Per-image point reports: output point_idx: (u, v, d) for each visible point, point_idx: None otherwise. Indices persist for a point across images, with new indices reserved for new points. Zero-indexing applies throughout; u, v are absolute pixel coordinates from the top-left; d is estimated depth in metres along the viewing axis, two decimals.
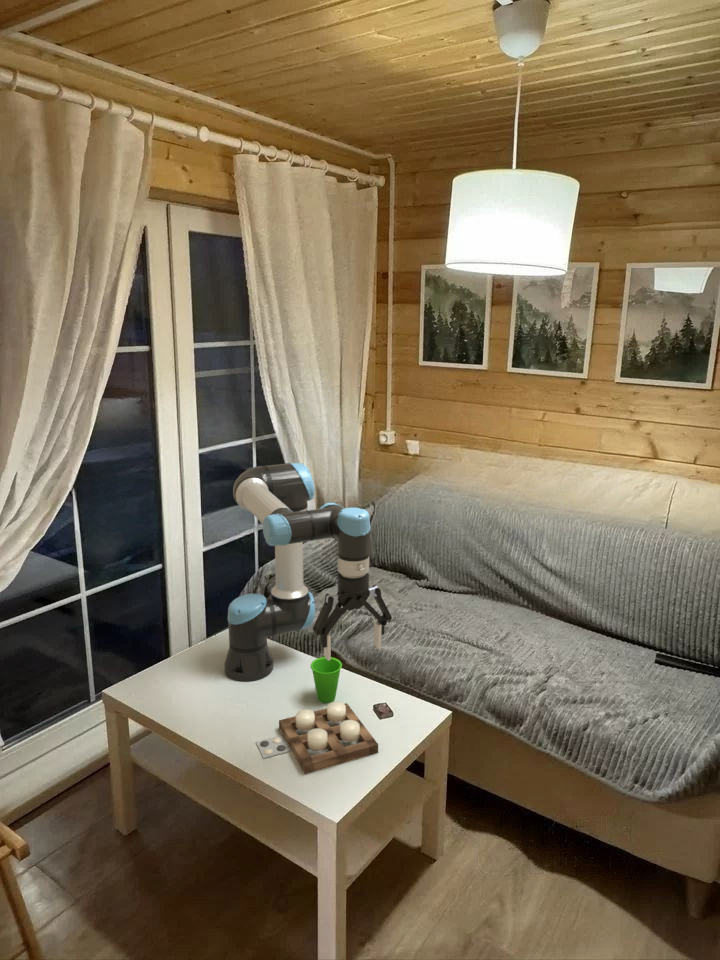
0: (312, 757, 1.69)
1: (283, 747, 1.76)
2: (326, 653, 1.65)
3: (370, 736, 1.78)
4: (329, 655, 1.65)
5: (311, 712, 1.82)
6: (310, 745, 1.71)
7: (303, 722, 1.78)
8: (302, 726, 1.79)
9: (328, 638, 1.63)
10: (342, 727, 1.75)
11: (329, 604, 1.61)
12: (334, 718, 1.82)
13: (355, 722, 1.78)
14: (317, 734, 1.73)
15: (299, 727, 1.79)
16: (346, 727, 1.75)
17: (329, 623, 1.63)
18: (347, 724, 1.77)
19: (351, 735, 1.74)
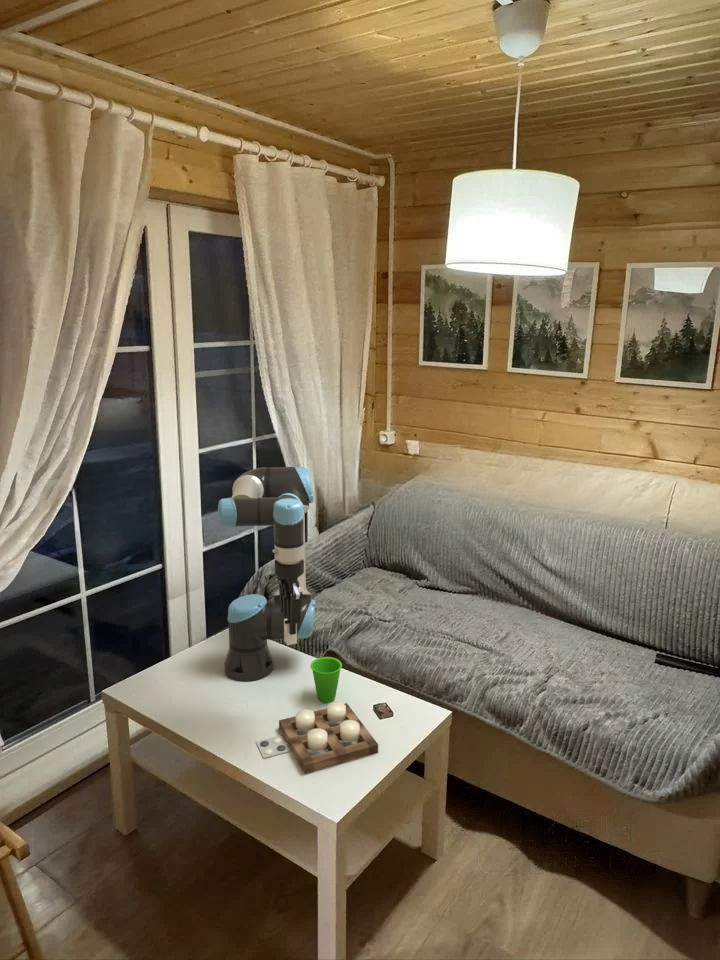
0: (312, 757, 1.69)
1: (283, 747, 1.76)
2: None
3: (370, 736, 1.78)
4: (284, 637, 1.81)
5: (311, 712, 1.82)
6: (310, 745, 1.71)
7: (303, 722, 1.78)
8: (302, 726, 1.79)
9: None
10: (342, 727, 1.75)
11: (278, 583, 1.81)
12: (334, 718, 1.82)
13: (355, 722, 1.78)
14: (317, 734, 1.73)
15: (299, 727, 1.79)
16: (346, 727, 1.75)
17: None
18: (347, 724, 1.77)
19: (351, 735, 1.74)
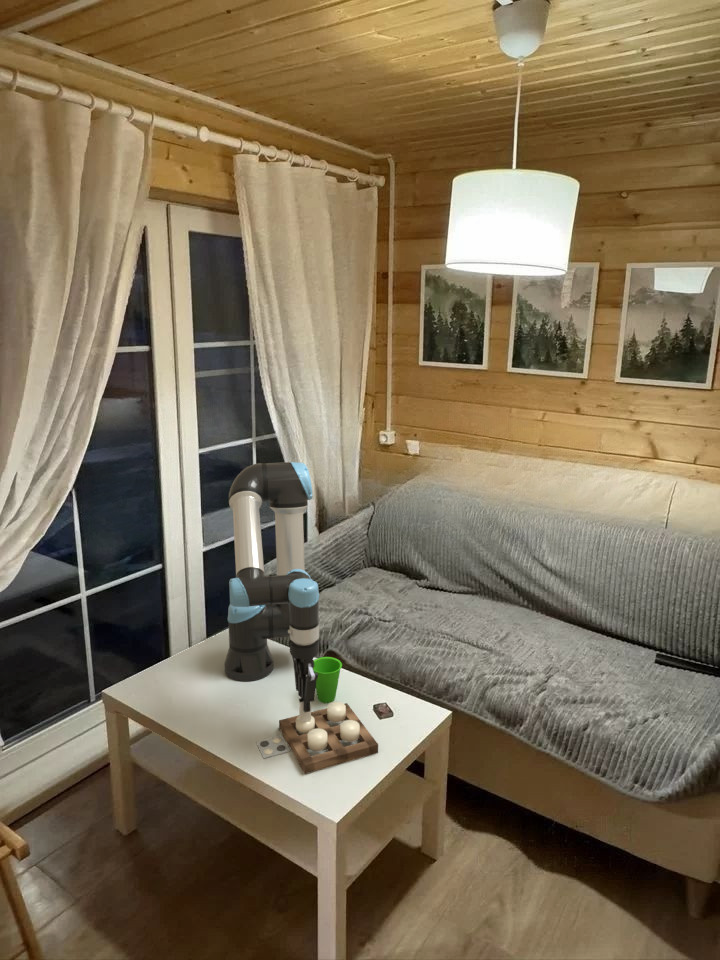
0: (312, 757, 1.69)
1: (283, 747, 1.76)
2: None
3: (370, 736, 1.78)
4: (299, 715, 1.80)
5: (311, 717, 1.82)
6: (310, 745, 1.71)
7: (303, 727, 1.79)
8: (302, 731, 1.79)
9: None
10: (342, 727, 1.75)
11: (293, 660, 1.81)
12: (334, 718, 1.82)
13: (355, 722, 1.78)
14: (317, 734, 1.73)
15: (299, 732, 1.79)
16: (346, 727, 1.75)
17: None
18: (347, 724, 1.77)
19: (351, 735, 1.74)
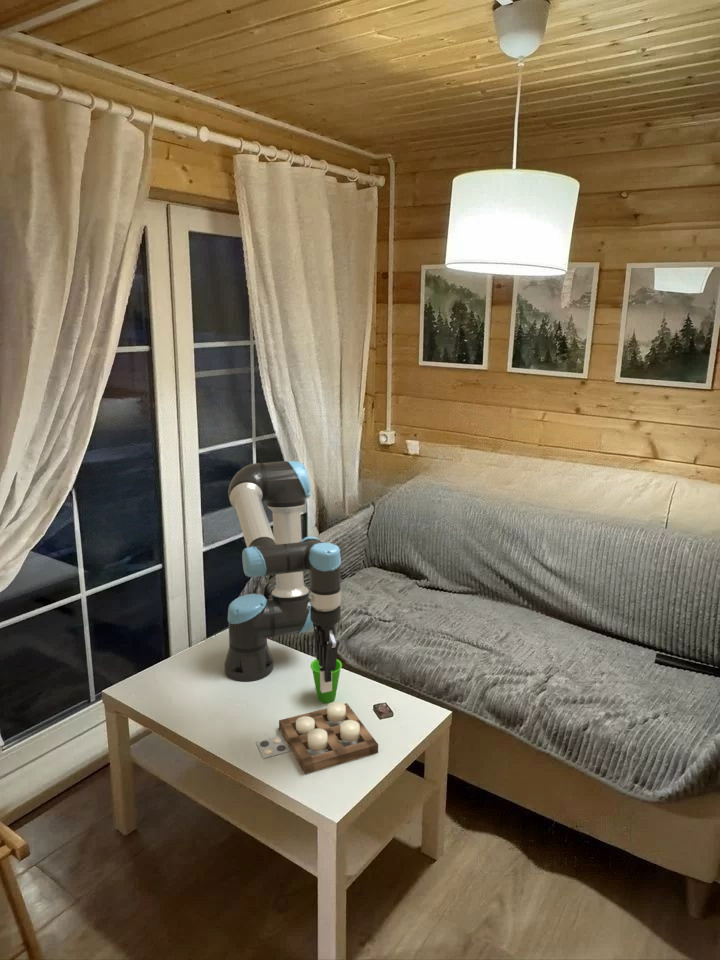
0: (312, 757, 1.69)
1: (283, 747, 1.76)
2: None
3: (370, 736, 1.78)
4: (320, 686, 1.75)
5: (311, 719, 1.82)
6: (310, 745, 1.71)
7: (303, 729, 1.79)
8: (302, 733, 1.79)
9: None
10: (342, 727, 1.75)
11: (314, 629, 1.76)
12: (334, 718, 1.82)
13: (355, 722, 1.78)
14: (317, 734, 1.73)
15: (299, 734, 1.80)
16: (346, 727, 1.75)
17: None
18: (347, 724, 1.77)
19: (351, 735, 1.74)
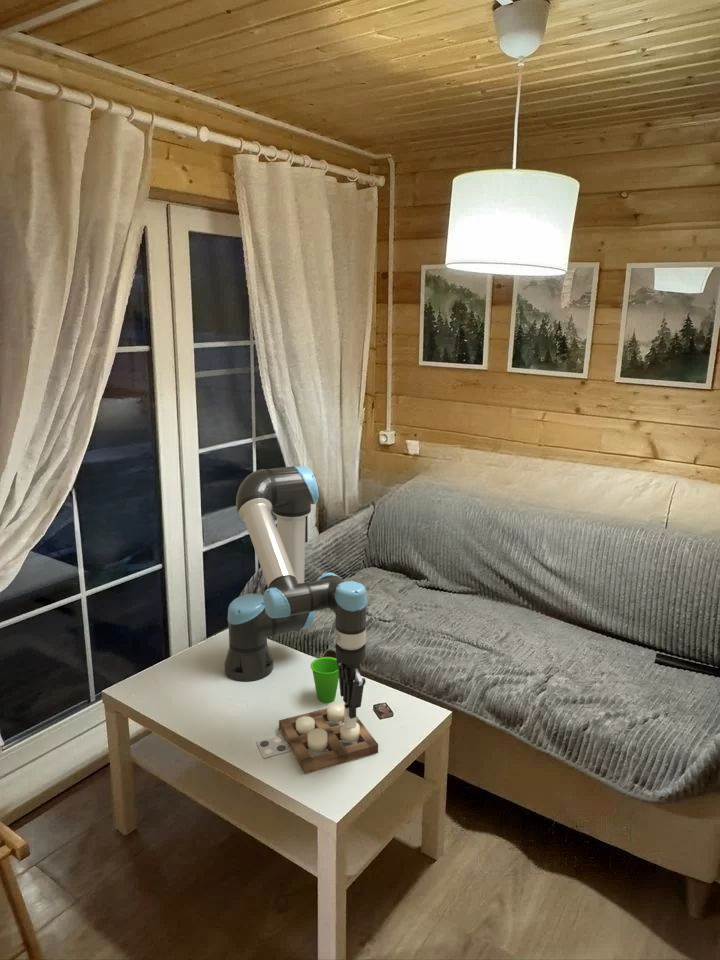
0: (312, 757, 1.69)
1: (283, 747, 1.76)
2: None
3: (370, 736, 1.78)
4: (344, 722, 1.75)
5: (311, 719, 1.82)
6: (310, 745, 1.71)
7: (303, 729, 1.79)
8: (302, 733, 1.79)
9: (344, 706, 1.75)
10: (342, 728, 1.76)
11: None
12: (334, 718, 1.82)
13: None
14: (317, 734, 1.73)
15: (299, 734, 1.80)
16: None
17: None
18: None
19: (351, 736, 1.74)
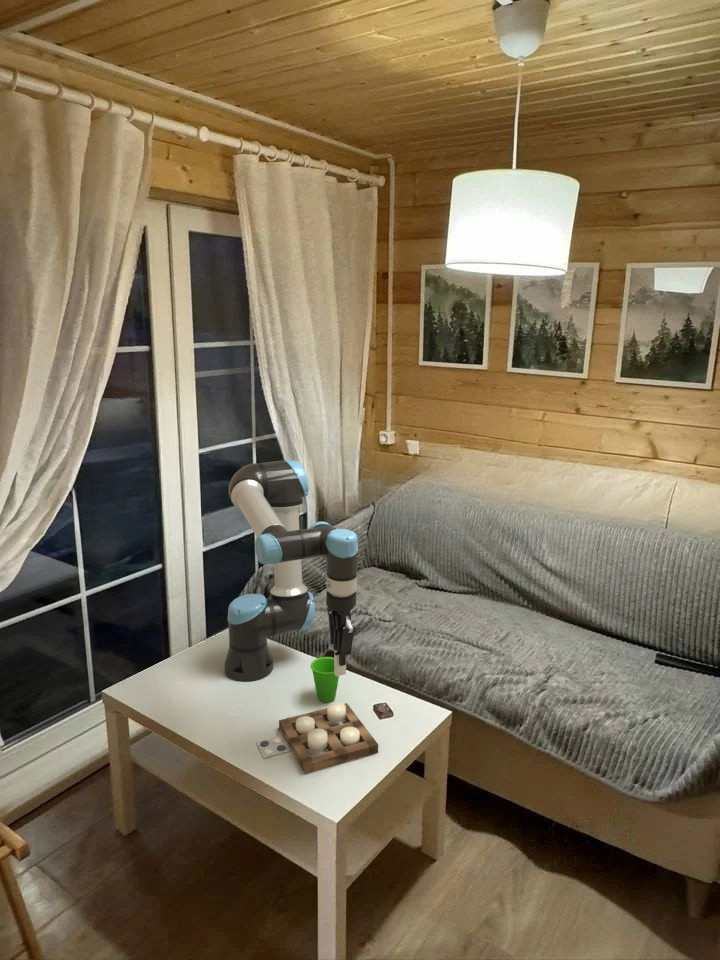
0: (312, 757, 1.69)
1: (283, 747, 1.76)
2: None
3: (370, 736, 1.78)
4: (334, 669, 1.76)
5: (311, 719, 1.82)
6: (310, 745, 1.71)
7: (303, 729, 1.79)
8: (302, 733, 1.79)
9: (335, 653, 1.75)
10: (342, 734, 1.76)
11: (328, 613, 1.77)
12: (334, 718, 1.82)
13: (355, 729, 1.78)
14: (317, 734, 1.73)
15: (299, 734, 1.80)
16: (346, 734, 1.76)
17: None
18: (347, 731, 1.77)
19: (351, 742, 1.75)
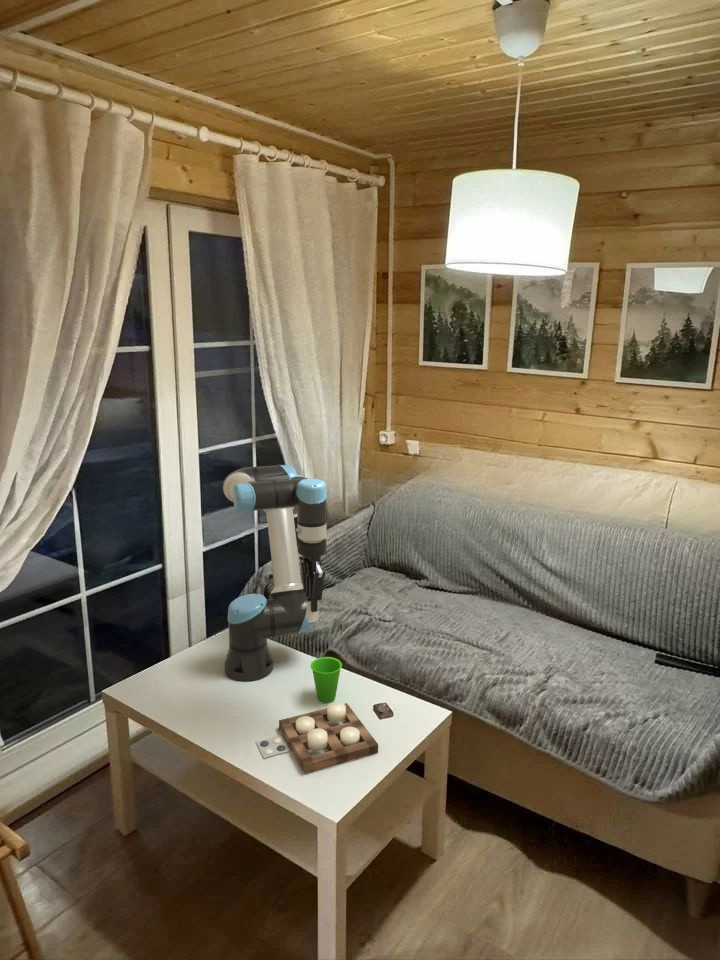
0: (312, 757, 1.69)
1: (283, 747, 1.76)
2: None
3: (370, 736, 1.78)
4: (307, 616, 1.84)
5: (311, 719, 1.82)
6: (310, 745, 1.71)
7: (303, 729, 1.79)
8: (302, 733, 1.79)
9: None
10: (342, 734, 1.76)
11: None
12: (334, 718, 1.82)
13: (355, 729, 1.78)
14: (317, 734, 1.73)
15: (299, 734, 1.80)
16: (346, 734, 1.76)
17: None
18: (347, 731, 1.77)
19: (351, 742, 1.75)
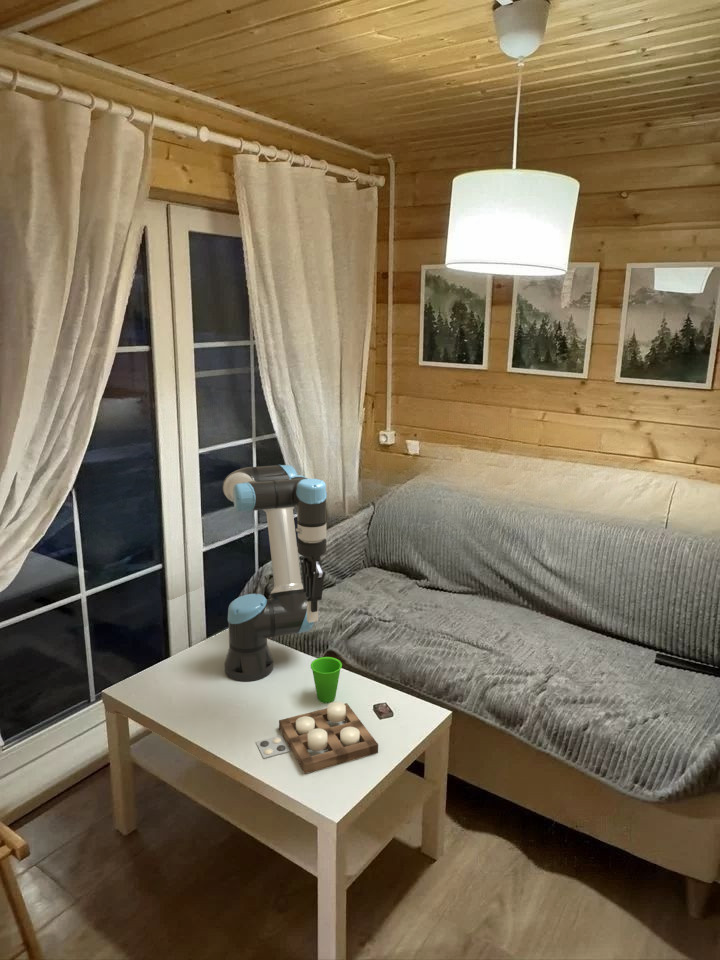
0: (312, 757, 1.69)
1: (283, 747, 1.76)
2: None
3: (370, 736, 1.78)
4: (307, 616, 1.84)
5: (311, 719, 1.82)
6: (310, 745, 1.71)
7: (303, 729, 1.79)
8: (302, 733, 1.79)
9: None
10: (342, 734, 1.76)
11: None
12: (334, 718, 1.82)
13: (355, 729, 1.78)
14: (317, 734, 1.73)
15: (299, 734, 1.80)
16: (346, 734, 1.76)
17: None
18: (347, 731, 1.77)
19: (351, 742, 1.75)
